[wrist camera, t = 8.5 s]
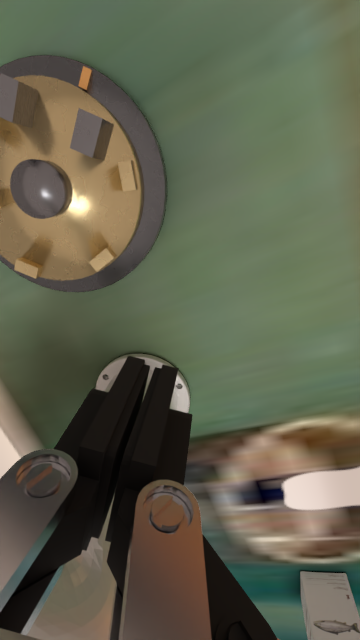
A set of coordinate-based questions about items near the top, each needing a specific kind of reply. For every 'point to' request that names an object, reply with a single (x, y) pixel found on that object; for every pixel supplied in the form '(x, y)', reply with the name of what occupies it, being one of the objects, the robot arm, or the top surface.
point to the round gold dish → (64, 180)
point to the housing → (146, 152)
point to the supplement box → (329, 607)
